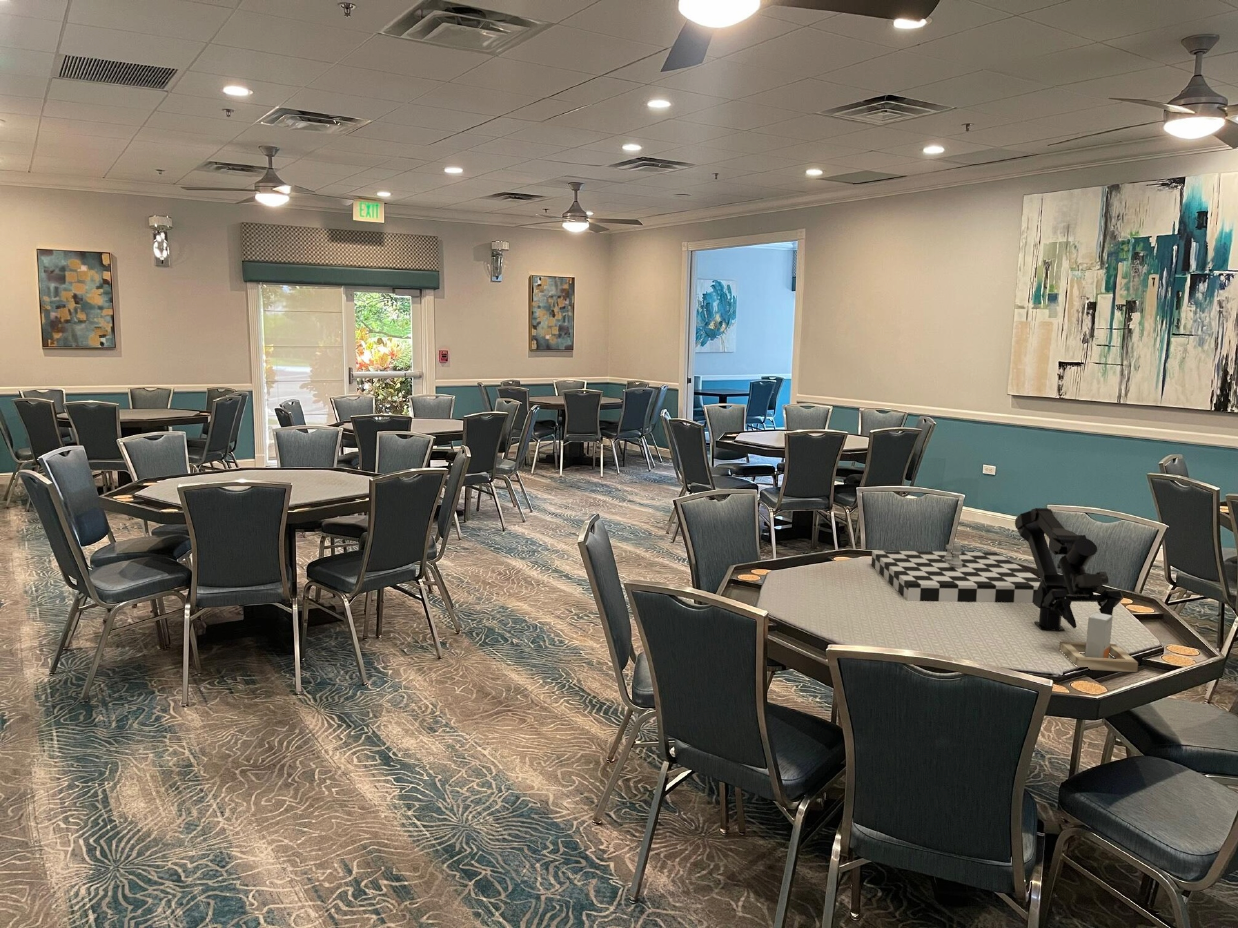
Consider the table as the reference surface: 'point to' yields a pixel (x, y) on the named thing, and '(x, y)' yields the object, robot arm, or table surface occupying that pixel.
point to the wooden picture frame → (1118, 664)
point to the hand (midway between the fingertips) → (1092, 627)
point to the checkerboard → (956, 576)
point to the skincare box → (1098, 635)
